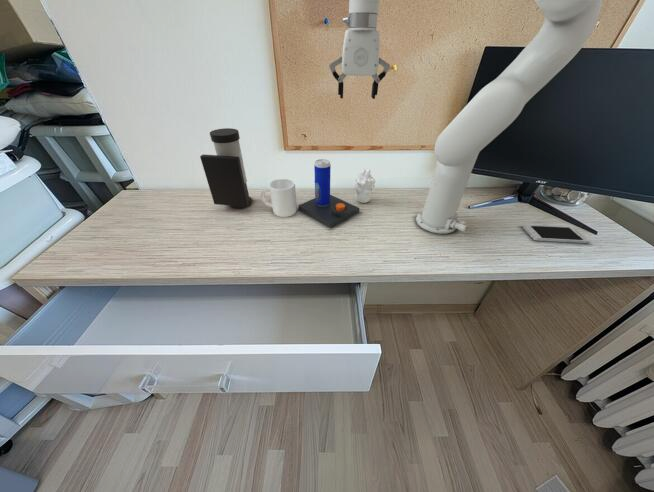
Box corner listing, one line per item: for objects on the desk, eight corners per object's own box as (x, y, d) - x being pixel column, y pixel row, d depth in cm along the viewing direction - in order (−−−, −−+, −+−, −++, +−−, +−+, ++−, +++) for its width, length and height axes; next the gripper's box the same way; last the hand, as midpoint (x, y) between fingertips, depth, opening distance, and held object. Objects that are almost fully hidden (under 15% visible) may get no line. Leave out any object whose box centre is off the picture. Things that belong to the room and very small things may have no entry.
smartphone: (521, 227, 83) (523, 224, 82) (572, 229, 82) (573, 227, 81) (534, 240, 77) (535, 238, 77) (588, 243, 76) (590, 240, 76)
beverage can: (313, 201, 92) (312, 159, 82) (327, 199, 93) (327, 158, 84) (317, 208, 88) (316, 165, 79) (331, 206, 89) (332, 163, 80)
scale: (359, 213, 89) (360, 204, 87) (331, 229, 81) (332, 219, 79) (326, 197, 98) (326, 188, 96) (298, 210, 90) (297, 201, 88)
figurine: (363, 208, 92) (366, 176, 84) (349, 201, 96) (351, 170, 88) (375, 201, 96) (379, 170, 88) (361, 195, 99) (364, 165, 92)
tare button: (346, 209, 85) (346, 205, 84) (340, 212, 83) (340, 208, 82) (340, 206, 87) (340, 202, 86) (333, 209, 85) (334, 205, 84)
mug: (259, 216, 87) (254, 188, 81) (267, 204, 94) (262, 177, 87) (294, 218, 86) (291, 190, 80) (299, 206, 93) (297, 179, 86)
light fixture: (260, 199, 97) (248, 129, 81) (248, 214, 88) (232, 139, 73) (230, 196, 98) (212, 127, 83) (216, 211, 90) (193, 137, 74)
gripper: (329, 22, 65) (328, 99, 75) (398, 23, 65) (387, 100, 75) (329, 24, 70) (328, 95, 81) (392, 24, 71) (383, 96, 81)
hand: (357, 97), depth 78 cm, fingers open, 9 cm apart
